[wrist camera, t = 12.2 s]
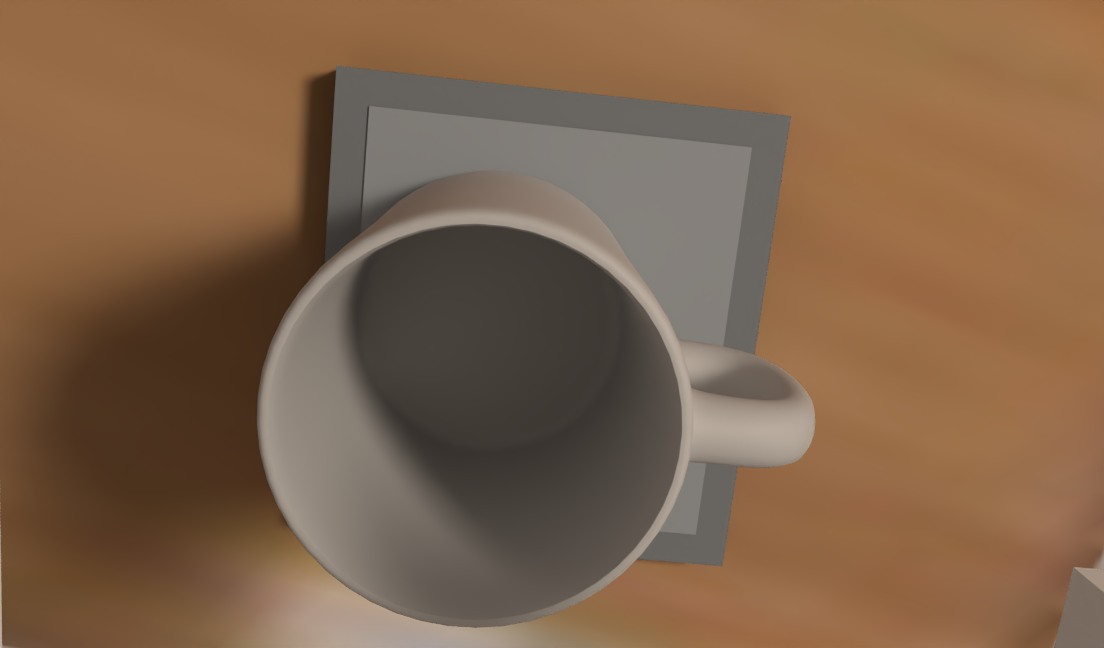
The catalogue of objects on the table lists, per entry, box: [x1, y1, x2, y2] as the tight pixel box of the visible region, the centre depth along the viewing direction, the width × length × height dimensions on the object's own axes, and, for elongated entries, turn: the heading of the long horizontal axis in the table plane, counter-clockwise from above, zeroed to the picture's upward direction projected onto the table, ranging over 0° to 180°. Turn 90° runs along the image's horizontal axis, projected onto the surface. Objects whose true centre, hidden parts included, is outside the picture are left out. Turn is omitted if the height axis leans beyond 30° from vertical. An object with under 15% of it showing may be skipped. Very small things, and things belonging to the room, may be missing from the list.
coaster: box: [324, 66, 791, 566], centre depth 31 cm, size 13×14×1 cm
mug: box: [257, 171, 815, 628], centre depth 25 cm, size 12×8×11 cm
